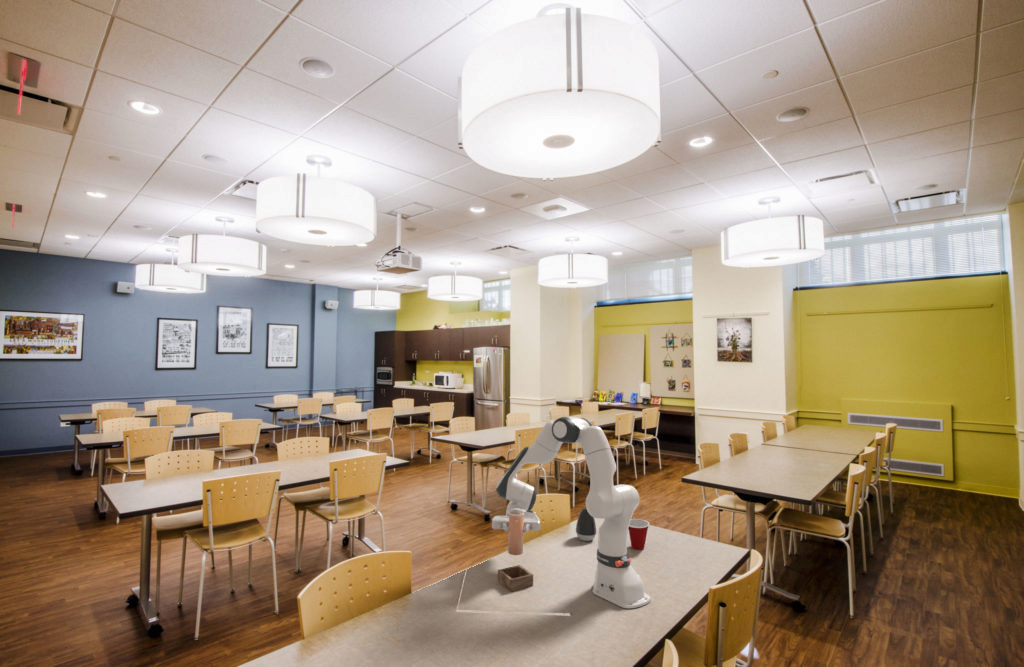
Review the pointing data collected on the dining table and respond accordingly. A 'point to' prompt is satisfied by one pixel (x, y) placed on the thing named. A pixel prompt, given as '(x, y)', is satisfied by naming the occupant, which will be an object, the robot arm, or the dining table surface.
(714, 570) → the dining table surface
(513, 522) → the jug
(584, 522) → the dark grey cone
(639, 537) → the plastic cup
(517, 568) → the holder
